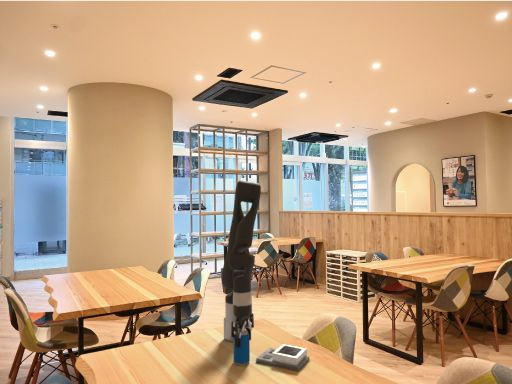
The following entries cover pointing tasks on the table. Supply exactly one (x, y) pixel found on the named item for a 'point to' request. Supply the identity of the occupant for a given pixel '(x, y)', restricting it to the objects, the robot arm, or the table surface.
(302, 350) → the grey and white device
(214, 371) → the table surface
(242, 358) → the beverage can
